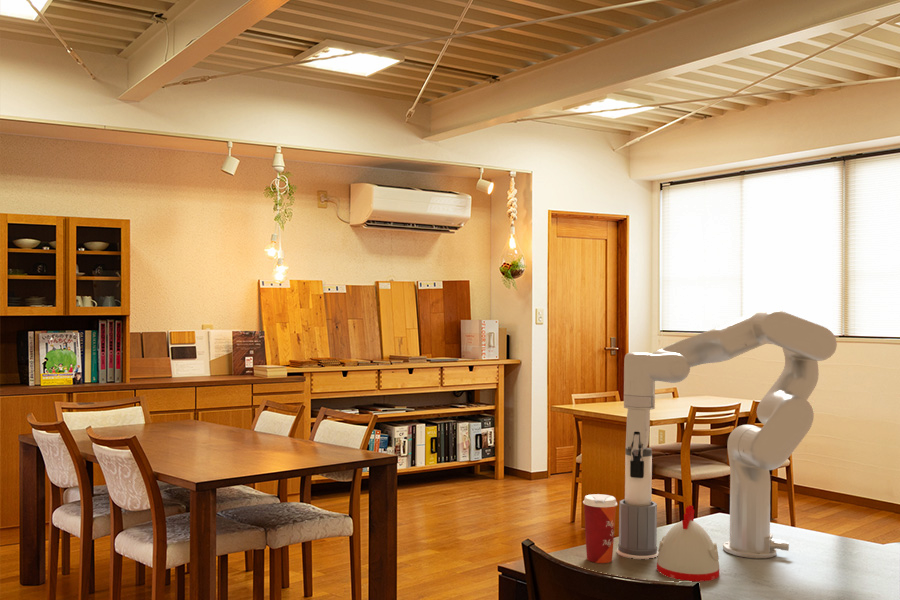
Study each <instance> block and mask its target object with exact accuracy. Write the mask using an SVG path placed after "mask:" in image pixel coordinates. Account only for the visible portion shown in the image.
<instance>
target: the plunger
mask: <svg viewBox="0 0 900 600" xmlns="http://www.w3.org/2000/svg"><path fill="white" fill-rule="evenodd" d="M631 448H632V446H631V447H630V448H629V449H627V448H626V447H625V449H624V450H625V455H624V456H625V459H624V460H625V461H624V462H625V463H624V466H625V468H624V471H625V472H624V473H625V474H624V499H625V504H627V505H631V506H651V501H652V491H653V490H652V487H653V486H652V483H653V482H652V481H653V479H652V477H653V473H652V472H653V462H652V461H653V460H652V459H653V449H652V448H651V447H647V448H646V449H644V450H643V461H644V477H643V478H635V477H631V476H630V460H631ZM639 448H641V447H639ZM640 453H641V451H640Z"/></svg>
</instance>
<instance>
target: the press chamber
mask: <svg viewBox="0 0 900 600" xmlns="http://www.w3.org/2000/svg"><path fill="white" fill-rule="evenodd" d="M618 506H619V511H618V513H619V515H618V518H619V519H618V522H619V523H618V545H617V548H616V553H617V555H619V556H621V557H624V558H625V559H626V558H627V559H631V558H633V560H641V559H645V560H650V559H649V558H653V559H655V558H654V557H656V558H658V557H657V556H658V554H659V552H658V550H659V549H658V547H657V546H658V545H657V537H658V536H657V531H658V530H657V527H658V525H657V524H658V520H657V519H658V513H657V512H658V504H657V503H656V501H653V500H651V506H631V505H627V504H625V498H624V499H621V500H619V505H618Z"/></svg>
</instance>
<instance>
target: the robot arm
mask: <svg viewBox="0 0 900 600" xmlns="http://www.w3.org/2000/svg"><path fill="white" fill-rule="evenodd" d="M767 344H768V345H773V346H778V347H779V348H782V351H783V355H784V366H783V367H784V368H783V369H782V372H781V373H780V375H779V376H778V378H777V379H776V380H775V382H774V383H773V384H772V386H771V387H770V388H769V389H768V391H767V392H766V394H765V395H764V397H762V398H761V400H760V402H759V403H758V404H757V407H756V416H757V419H758V421H759V422H760V423H761V424H762V425H763V426H762V427H760V426H756V425H754V424H742V425H739V426H736V427H735V428H734V429H733V430H732V431H731V432H730V434H729V436H728V438H727V445H726V446H727V448H726V449H727V455H728V456H727V457H728V462H729V473H730V474H729V475H730V476H729V480H730V481H729V483H730V485H729V487H730V488H729V540H728V541H725V542H724V543H722V549H723V551H725V552H726V553H728V554H731V555H733V556H737V557H742V558H747V559H770V558H773V557H775V556H776V555H777V550H781V551H786V552H789V548H790V543H789V542H786V541H785V540H781V539H775V538H773V534H774V533H771V485H772V484H771V482H772V481H771V473H770V471H773V470H776V469H778V468H780V467H781V466H782V465H784V464H785V462H786V461H788V459H789V458H790V456H791V455H792V454H793V452H795V450H796V448H798V446H799V445H800V443H801V442H802V440H803V439H804V438H805V437H806V436H807V434H808V433H809V431H810V429H811V427H812V425H813V422H814V414H815V413H814V409H813V405H812V404H811V403H810V402H809V401H808V399H809V398H810V396H811V395H812V393H813V392H814V390H815V388H816V387H817V385H818V382H819V373H820V372H819V365H818V363H819V362H820V361H821V362H822V361H825V360H828V359H830V358H831V357H832V356H833V355H834V354H835V352H836V350H837V346H838V343H837V339H836V336H835V335H834V333H833V332H832V331H831V330H830V329H829V328H828V327H826V326H823V325H820V324H817V323H815V322H812V321H809V320H806V319H804V318H801V317H798V316H796V315H794V314H791V313H788V312H785V311H783V310H778V309H759V310H755V311H753V312H750V313H748V314H745V315H743V316H741V317H738V318H736V319H734V320H731V321H729V322H727V323H724V324H722V325H719V326H717V327H715V328H713V329H710V330H707V331H704V332H703V331H702V332H701V333H698V334H696V335H693V336H690V337H687V338H683V339H681V340H679V341H675V342H674V343H671V344H669V345H667V346H665V347H662V348H660V349H658V350H656V351H654V352H653V353H651V352H645V351H644V352H643V351H641V352H640V351H637V352H635V351H634V352H633V351H632V352H631V351H630V352H628V353H626V354H625V355H624V361H623V362H624V363H623V365H624V366H623V408H624V409H626V410H627V413H626V428H625V429H626V431H625V433H626V434H625V449H626V448H627V449H629V448H630V447H632V448H631V460H630V476H631V477H635V478H643V477H644V461H643V450H644V449H646V448H648V446H649V440H650V428H651V427H650V425H651V424H650V422H651V417H650V416H651V413H650V412H651V411H652V410H655V409H656V404H655V403H656V382H663V383H664V382H665V383H670V384H676V383H680V382H683V381H684V380H686V378H688V376H689V375H690V371H691V368H693V367H696V366H699V365H706V364H714V363H721V362H726V361H728V360H729V361H730V360H732V359H734V358H736V357H739V356H740V355H743V354H746V353H748V352H750V351H752V350H755V349H757V348H759V347H762V346H765V345H767ZM639 447H641V448H639ZM640 451H641V453H640Z"/></svg>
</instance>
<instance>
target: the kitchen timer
mask: <svg viewBox="0 0 900 600" xmlns="http://www.w3.org/2000/svg"><path fill="white" fill-rule="evenodd" d="M694 518H695V509H694V505H687V506H686V507H685V513H684V514H683V519H682V520H681V521H679V522H677V523H675V524H674V525H673V526H671V528H670V529H669V530H668V531H667V533H666V534H665V535H663V536H662V538H661V540H660V541H659V547H658V549H657V550H658V557H656V570H657V569H658V570H657V572H658V571H659V572H661V573H662V574H664V575H663V576H665V575H666V576H665V577H667V576H668V577H667V578H670V577H671V578H670V579H674V578H675V580H678V579H680V581H684V580H689V581H688V582H707V581H708V582H709V581H713V580H716V579H717V578H719V577H720V562H719V561H720V560H719V559H720V558H719V557H720V556H719V552H718V547H717V542H715V543H714V542H713V540H712V539H711V537H710V535H709V534H708V532H707V531H706V529H704V527H702V526H701V525H700V524H699V523H698V522H695V521H694ZM659 572H658V573H659ZM661 573H660V574H661ZM662 574H661V575H662Z"/></svg>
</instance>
